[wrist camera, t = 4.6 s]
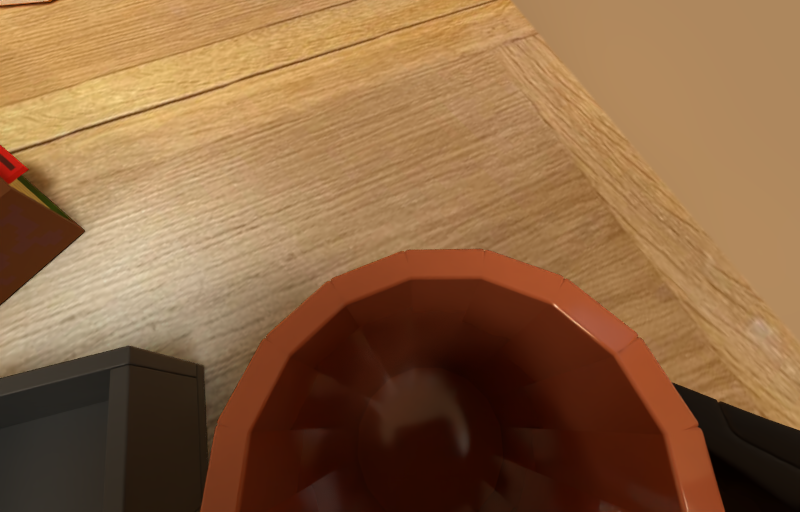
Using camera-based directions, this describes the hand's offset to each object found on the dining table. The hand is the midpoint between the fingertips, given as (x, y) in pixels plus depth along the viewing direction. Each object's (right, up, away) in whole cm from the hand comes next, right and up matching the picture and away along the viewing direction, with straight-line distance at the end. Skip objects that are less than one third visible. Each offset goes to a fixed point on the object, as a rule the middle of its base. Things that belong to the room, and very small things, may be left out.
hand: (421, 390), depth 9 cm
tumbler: (+1, -4, +6) cm, 7 cm away
